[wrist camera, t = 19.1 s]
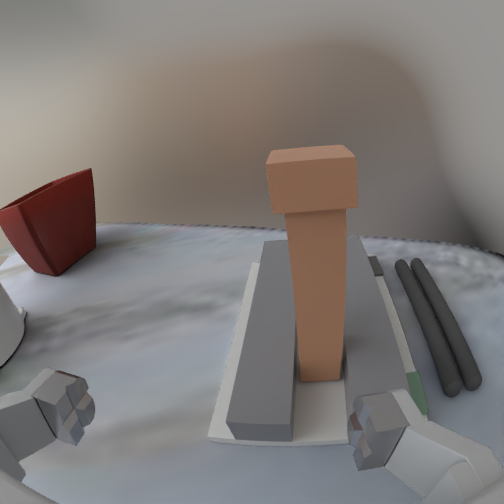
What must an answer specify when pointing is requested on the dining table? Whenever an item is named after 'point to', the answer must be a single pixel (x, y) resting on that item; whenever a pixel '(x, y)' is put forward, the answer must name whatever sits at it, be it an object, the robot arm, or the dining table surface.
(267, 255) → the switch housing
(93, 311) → the dining table surface
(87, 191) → the plant pot
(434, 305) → the twin grey rods
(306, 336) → the breaker handle
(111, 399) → the dining table surface
